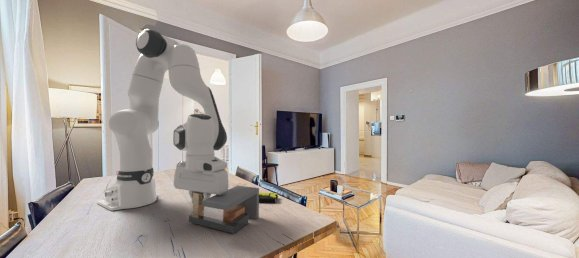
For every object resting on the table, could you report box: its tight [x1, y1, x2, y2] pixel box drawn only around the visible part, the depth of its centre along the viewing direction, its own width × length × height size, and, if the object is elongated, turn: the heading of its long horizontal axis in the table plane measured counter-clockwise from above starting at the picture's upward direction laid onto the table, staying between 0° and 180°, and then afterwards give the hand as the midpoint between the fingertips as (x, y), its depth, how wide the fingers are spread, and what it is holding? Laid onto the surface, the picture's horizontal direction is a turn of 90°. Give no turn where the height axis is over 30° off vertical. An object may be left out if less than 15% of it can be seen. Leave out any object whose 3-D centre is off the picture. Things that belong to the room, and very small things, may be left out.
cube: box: [222, 206, 245, 223], centre depth 71 cm, size 5×5×5 cm
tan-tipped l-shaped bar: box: [188, 192, 250, 235], centre depth 70 cm, size 18×8×10 cm, turn 69°
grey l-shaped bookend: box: [202, 185, 260, 220], centre depth 68 cm, size 9×18×10 cm, turn 160°
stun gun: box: [259, 191, 279, 204], centre depth 90 cm, size 3×19×15 cm
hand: (199, 204), depth 70 cm, fingers closed on tan-tipped l-shaped bar, 2 cm apart
